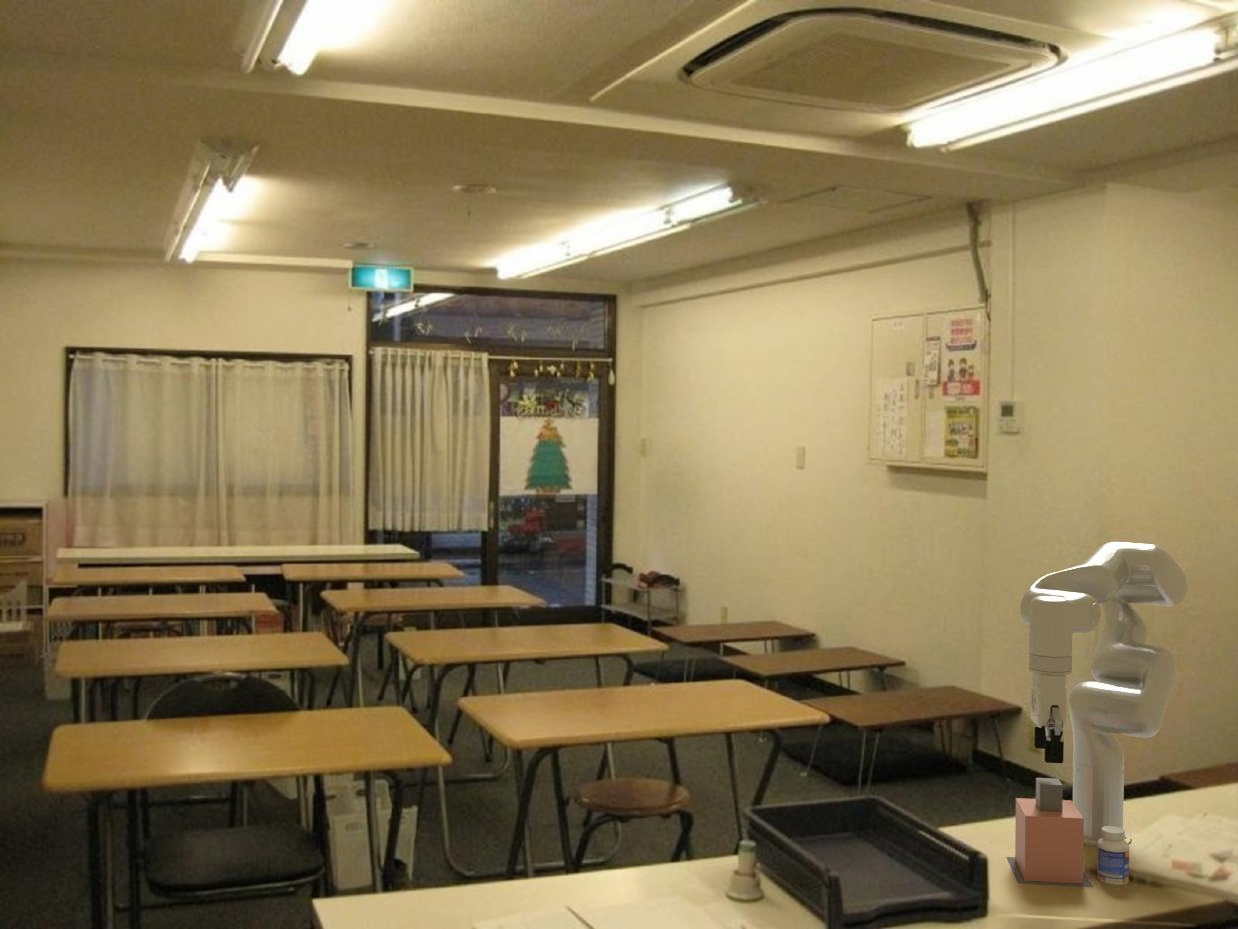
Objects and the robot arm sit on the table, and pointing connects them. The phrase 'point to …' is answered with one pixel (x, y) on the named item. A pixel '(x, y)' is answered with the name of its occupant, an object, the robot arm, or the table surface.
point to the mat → (1021, 880)
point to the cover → (1049, 835)
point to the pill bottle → (1113, 856)
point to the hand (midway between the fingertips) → (1048, 755)
